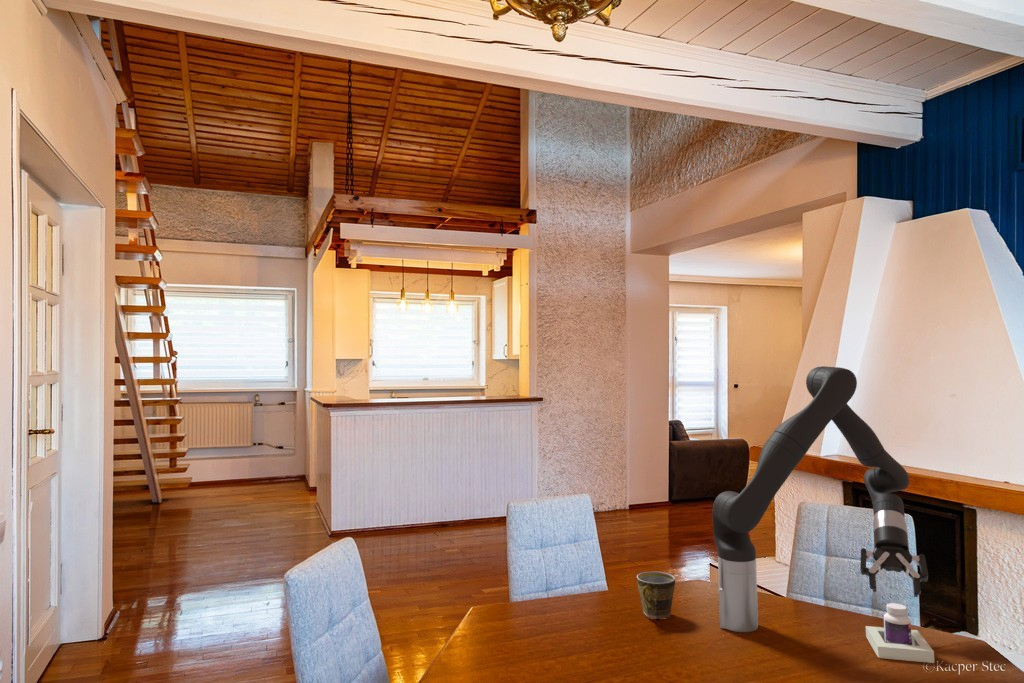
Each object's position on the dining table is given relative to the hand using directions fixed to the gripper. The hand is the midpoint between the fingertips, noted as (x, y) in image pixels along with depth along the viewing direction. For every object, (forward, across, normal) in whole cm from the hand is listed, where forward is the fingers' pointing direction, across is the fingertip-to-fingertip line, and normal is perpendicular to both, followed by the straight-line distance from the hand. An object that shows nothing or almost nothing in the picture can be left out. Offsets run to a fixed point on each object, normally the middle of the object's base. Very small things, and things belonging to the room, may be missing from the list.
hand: (895, 593), depth 158 cm
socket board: (+12, 0, +4) cm, 12 cm away
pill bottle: (+12, 0, +5) cm, 12 cm away
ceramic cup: (+14, -56, +2) cm, 58 cm away
